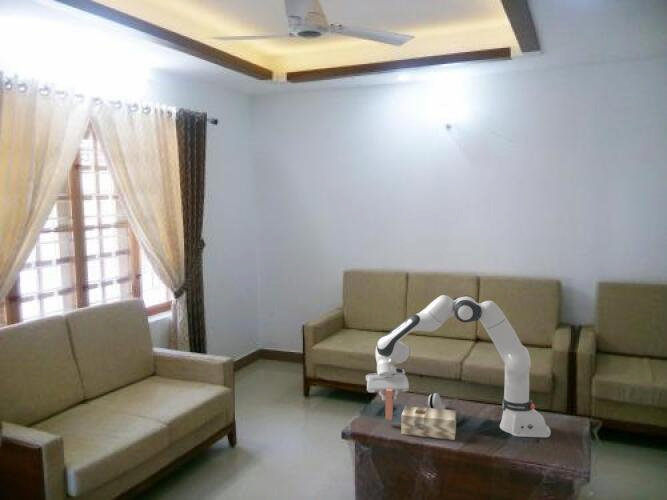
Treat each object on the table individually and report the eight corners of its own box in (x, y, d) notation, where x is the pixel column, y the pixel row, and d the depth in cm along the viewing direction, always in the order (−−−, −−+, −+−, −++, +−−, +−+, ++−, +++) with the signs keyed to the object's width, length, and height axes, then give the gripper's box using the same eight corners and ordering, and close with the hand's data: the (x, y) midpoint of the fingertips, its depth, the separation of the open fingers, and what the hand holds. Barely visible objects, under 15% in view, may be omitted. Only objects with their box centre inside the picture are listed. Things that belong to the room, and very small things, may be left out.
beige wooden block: (455, 429, 263) (456, 410, 262) (454, 440, 251) (454, 420, 250) (404, 423, 269) (405, 405, 268) (401, 434, 257) (401, 415, 256)
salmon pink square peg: (392, 417, 268) (392, 388, 266) (391, 419, 265) (391, 391, 263) (386, 416, 269) (386, 388, 267) (385, 419, 266) (385, 390, 264)
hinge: (441, 419, 274) (435, 399, 274) (432, 421, 276) (426, 402, 276) (445, 407, 290) (439, 388, 290) (437, 409, 292) (430, 390, 292)
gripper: (365, 370, 271) (368, 397, 262) (407, 369, 272) (411, 396, 263) (364, 376, 276) (366, 403, 267) (405, 375, 277) (409, 402, 268)
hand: (389, 399), depth 265 cm, fingers closed on salmon pink square peg, 4 cm apart
